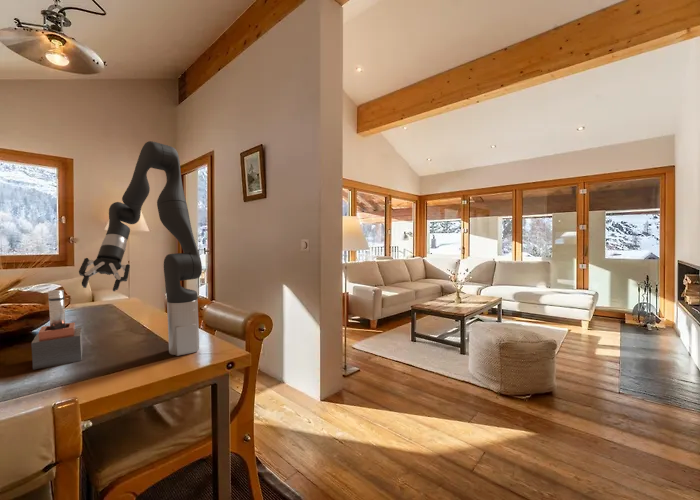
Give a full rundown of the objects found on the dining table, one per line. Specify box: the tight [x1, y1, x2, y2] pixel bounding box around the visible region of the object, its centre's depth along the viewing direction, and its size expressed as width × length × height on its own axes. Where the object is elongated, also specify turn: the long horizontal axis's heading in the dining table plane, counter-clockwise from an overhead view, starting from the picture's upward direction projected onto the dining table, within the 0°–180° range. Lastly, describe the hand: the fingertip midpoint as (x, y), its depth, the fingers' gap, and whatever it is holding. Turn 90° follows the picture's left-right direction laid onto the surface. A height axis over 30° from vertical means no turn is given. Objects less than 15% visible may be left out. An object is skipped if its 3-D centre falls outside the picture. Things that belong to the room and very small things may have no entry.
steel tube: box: [47, 289, 66, 330], centre depth 103 cm, size 4×4×14 cm
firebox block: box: [30, 321, 84, 371], centre depth 103 cm, size 11×11×10 cm
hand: (99, 288), depth 115 cm, fingers open, 8 cm apart
